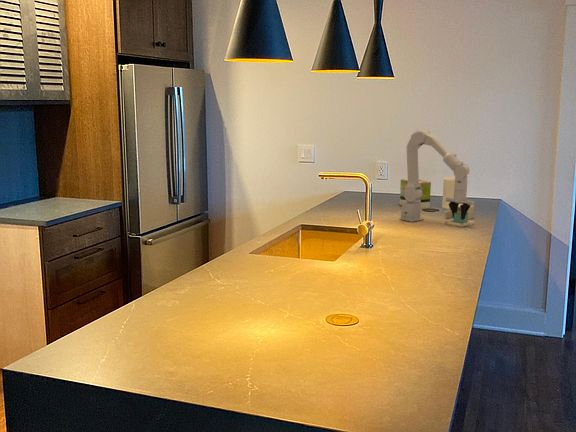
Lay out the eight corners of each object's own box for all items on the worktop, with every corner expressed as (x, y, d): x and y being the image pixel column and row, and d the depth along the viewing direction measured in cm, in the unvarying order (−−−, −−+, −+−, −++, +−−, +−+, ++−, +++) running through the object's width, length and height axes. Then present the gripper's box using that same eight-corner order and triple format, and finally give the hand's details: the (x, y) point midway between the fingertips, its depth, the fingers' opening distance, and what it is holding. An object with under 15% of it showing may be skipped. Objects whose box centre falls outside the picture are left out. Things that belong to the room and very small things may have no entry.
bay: (459, 220, 320) (460, 208, 319) (442, 217, 327) (442, 206, 326) (473, 217, 328) (474, 206, 327) (456, 215, 335) (457, 203, 334)
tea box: (398, 205, 363) (400, 178, 361) (413, 204, 368) (415, 178, 365) (415, 209, 350) (416, 182, 347) (430, 208, 354) (431, 181, 351)
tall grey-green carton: (460, 224, 308) (461, 213, 307) (453, 222, 311) (454, 212, 310) (467, 223, 312) (468, 212, 311) (460, 221, 315) (461, 211, 314)
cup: (459, 209, 353) (460, 179, 350) (443, 208, 353) (445, 179, 350) (455, 206, 361) (457, 177, 358) (440, 206, 361) (442, 177, 358)
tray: (461, 227, 305) (461, 224, 305) (446, 224, 311) (446, 221, 311) (474, 224, 312) (474, 221, 312) (458, 221, 318) (458, 218, 318)
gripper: (478, 191, 305) (476, 219, 308) (452, 187, 316) (450, 215, 318) (470, 192, 300) (468, 221, 303) (443, 189, 311) (442, 217, 313)
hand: (458, 218), depth 310 cm, fingers closed on tall grey-green carton, 4 cm apart
